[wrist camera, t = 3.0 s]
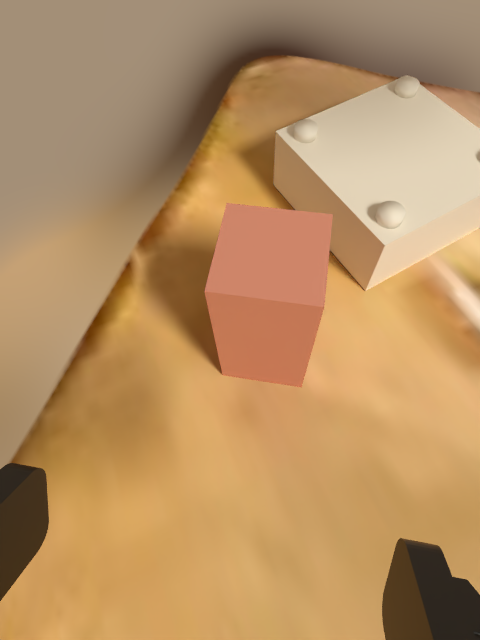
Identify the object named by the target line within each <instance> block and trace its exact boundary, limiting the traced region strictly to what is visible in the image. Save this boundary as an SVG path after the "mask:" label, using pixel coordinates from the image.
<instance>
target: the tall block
mask: <svg viewBox="0 0 480 640" xmlns="http://www.w3.org/2000/svg"><path fill="white" fill-rule="evenodd" d="M332 219H333V214H325V213H316V212H306V211H297V210H287V209H278V208H268V207H259V206H249V205H240V204H230V203H227V205H226V209H225V212H224V216H223V220H222V224H221V228H220V232H219V236H218V240H217V244H216V248H215V252H214V256H213V259H212V263H211V267H210V271H209V275H208V279H207V283H206V287H205V291H204V292H205V297H206V301H207V306H208V310H209V315H210V320H211V324H212V329H213V333H214V338H215V343H216V347H217V352H218V356H219V361H220V366H221V370H222V375H226V376H232V377H239V378H245V379H251V380H258V381H264V382H271V383H277V384H284V385H290V386H297V387H302V383H303V380H304V376H305V373H306V369H307V366H308V362H309V359H310V355H311V352H312V348H313V345H314V341H315V338H316V334H317V331H318V327H319V323H320V320H321V316H322V313H323V309H324V303H325V293H326V282H327V272H328V261H329V251H330V240H331V229H332Z"/></svg>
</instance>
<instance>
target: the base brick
mask: <svg viewBox="0 0 480 640" xmlns="http://www.w3.org/2000/svg"><path fill="white" fill-rule="evenodd" d="M273 185H274V186H275V187H276V188H277V190H278V191H279V192H280V193H281V194H282V195H283V196H284V198H285V199H286V200H287V201H288V202H289V203H290V205H291V206H292V207H293V208H294V209H295V210H297V211H306V212H316V213H325V214H333V219H332V229H331V240H330V251H331V252H332V253H333V254H334V255H335V256H336V258H337V259H338V260H339V261H340V262H341V263H342V265H343V266H344V267H345V268H346V269H347V270H348V271H349V273H350V274H351V275H352V276H353V277H354V278H355V280H356V281H357V282H358V283H359V284H360V285H361V286H362V288H363V289H364V290H365V291H366V290H368V289H370V288H372V287H374V286H375V285H377V284H379V283H381V282H383V281H384V280H386V279H388V278H390V277H392V276H394V275H395V274H397V273H399V272H401V271H403V270H404V269H406V268H408V267H410V266H412V265H414V264H415V263H417V262H419V261H421V260H423V259H424V258H426V257H428V256H430V255H432V254H434V253H435V252H437V251H439V250H441V249H443V248H444V247H446V246H448V245H450V244H452V243H454V242H455V241H457V240H459V239H461V238H463V237H464V236H466V235H468V234H470V233H472V232H474V231H475V230H477V229H479V228H480V129H479V128H478V127H477V126H475V125H474V124H473V123H471V122H470V121H469V120H467V119H466V118H464V117H463V116H462V115H460V114H459V113H458V112H456V111H455V110H454V109H452V108H451V107H450V106H448V105H447V104H446V103H444V102H443V101H442V100H440V99H439V98H438V97H436V96H435V95H434V94H432V93H431V92H430V91H428V90H427V89H426V88H424V87H423V86H422V85H420V83H419V81H418V79H416V78H414V77H411V76H408V75H406V76H403V77H400V78H399V79H397V80H395V81H392V82H390V83H387V84H385V85H383V86H380V87H378V88H376V89H373V90H371V91H369V92H366V93H364V94H362V95H359V96H357V97H355V98H352V99H350V100H348V101H345V102H343V103H341V104H338V105H336V106H334V107H331V108H329V109H327V110H324V111H322V112H320V113H317V114H315V115H313V116H310V117H308V118H306V119H302V120H299V121H297V122H296V123H294V124H291V125H289V126H287V127H284V128H282V129H280V130H277V131H276V133H275V157H274V181H273Z"/></svg>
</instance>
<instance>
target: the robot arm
mask: <svg viewBox="0 0 480 640" xmlns="http://www.w3.org/2000/svg"><path fill="white" fill-rule="evenodd" d="M48 524H49V516H48V498H47V481H46V473H45V471H44V470H43V469H41V468H36V467H31V466H25V465H20V464H15V463H10V464H7V465H5V466H4V467H3V468H2V469H0V601H1V600H2V598H3V597H4V596H5V594H6V593H7V592H8V590H9V589H10V588H11V586H12V585H13V584H14V582H15V581H16V580H17V578H18V577H19V576H20V574H21V573H22V572H23V570H24V569H25V568H26V566H27V565H28V564H29V562H30V561H31V560H32V558H33V557H34V556H35V554H36V553H37V552H38V550H39V549H40V547H41V545H42V543H43V541H44V539H45V536H46V533H47V530H48ZM382 617H383V627H384V633H385V638H386V640H480V595H479V594H478V592H477V591H476V590H475V589H474V587H473V586H472V585H471V584H470V583H469V581H468V580H465V579H460V578H455V577H452V575H451V572H450V570H449V567H448V565H447V562H446V559H445V557H444V554H443V552H442V550H441V548H440V547H439V546H437V545H433V544H428V543H423V542H418V541H412V540H407V539H402V538H400V539H399V540H398V542H397V544H396V548H395V551H394V555H393V559H392V563H391V566H390V570H389V574H388V578H387V581H386V585H385V589H384V593H383V603H382Z"/></svg>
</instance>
